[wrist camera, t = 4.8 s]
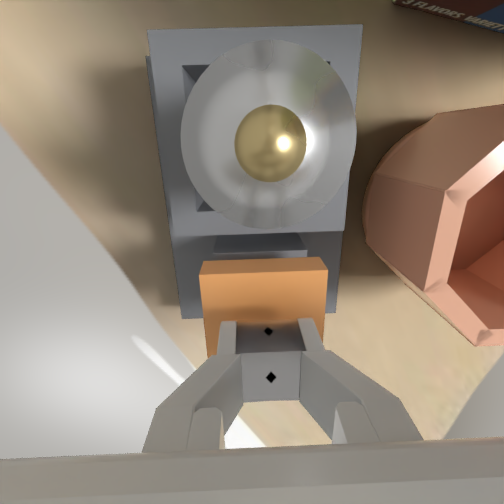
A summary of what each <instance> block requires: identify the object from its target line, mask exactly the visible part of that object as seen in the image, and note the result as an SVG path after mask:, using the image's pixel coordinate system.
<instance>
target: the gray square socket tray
mask: <svg viewBox="0 0 504 504" xmlns="http://www.w3.org/2000/svg"><path fill="white" fill-rule="evenodd" d="M362 32H363V24H353V25H314V26H275V27H236V28H196V29H157V30H147V34H148V42H149V49H150V56H146V63H147V70H148V78H149V85H150V92H151V99H152V106H153V114H154V121H155V128H156V135H157V142H158V150H159V157H160V164H161V171H162V178H163V186H164V193H165V200H166V207H167V214H168V222H169V229H170V236H171V243H172V250H173V258H174V265H175V272H176V279H177V286H178V294H179V301H180V308H181V315H182V319H192V318H203V309H202V299H201V290H200V281H199V273H200V270H201V267H202V264H203V261H216V260H243V259H270V258H298V257H320V258H321V260H322V261H323V263H324V264H325V266H326V267H327V269H328V279H327V292H326V306H325V313H336V302H337V291H338V280H339V269H340V258H341V247H342V236H343V231H344V228H345V217H346V206H347V195H348V184H349V173H350V170H349V172H348V174H347V177H346V179H345V180H344V182H343V184H342V186H341V187H340V189H339V190H338V192H337V193H336V194H335V196H334V197H333V198H332V199H331V200H330V201H329V202H328V203H327V204H326V205H325V206H324V207H323V208H322V209H321V210H319V211H318V212H317V213H315V214H314V215H312V216H311V217H309V218H307V219H305V220H303V221H301V222H299V223H296V224H293V225H291V226H287V227H282V228H275V229H258V228H251V227H247V226H243V225H240V224H237V223H235V222H233V221H230V220H228V219H227V218H225V217H223V216H222V215H220V214H219V213H217V212H216V211H215V210H214V209H212V208H211V207H210V206H209V205H208V204H207V203H206V202H205V201H204V200H203V198H202V197H201V196H200V194H199V193H198V192H197V190H196V189H195V187H194V185H193V184H192V182H191V180H190V177H189V175H188V173H187V171H186V167H185V164H184V161H183V156H182V150H181V122H182V117H183V112H184V108H185V105H186V102H187V99H188V97H189V95H190V93H191V91H192V89H193V87H194V85H195V83H196V82H197V80H198V79H199V77H200V76H201V74H202V73H203V72H204V71H205V70H206V69H207V68H208V67H209V65H210V64H212V63H213V62H214V61H215V60H216V59H218V58H219V57H220V56H221V55H223V54H225V53H226V52H228V51H229V50H231V49H233V48H236V47H238V46H240V45H242V44H246V43H250V42H253V41H259V40H282V41H287V42H292V43H295V44H298V45H300V46H303V47H306V48H307V49H309V50H311V51H313V52H314V53H316V54H318V55H319V56H320V57H321V58H323V59H324V60H325V61H326V62H327V63H328V64H329V65H330V66H331V67H332V68H333V69H334V70H335V71H336V73H337V74H338V75H339V77H340V78H341V80H342V81H343V83H344V85H345V87H346V89H347V91H348V93H349V95H350V98H351V101H352V104H353V108H354V112H355V108H356V97H357V86H358V76H359V65H360V54H361V43H362Z"/></svg>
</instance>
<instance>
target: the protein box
mask: <svg viewBox="0 0 504 504" xmlns="http://www.w3.org/2000/svg"><path fill="white" fill-rule="evenodd" d="M392 1H393V3H394V4H396V5H400V6H405V7H409V8H412V9H416V10H421V11H425V12H427V13H431V14H435V15H438V16H442V17H446V18H450V19H453V20H458V21H461V22H464V23H467V24H471V25H474V26H478V27H482V28H486V29H489V30H493V31H496V32H500V33H504V0H392Z"/></svg>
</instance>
